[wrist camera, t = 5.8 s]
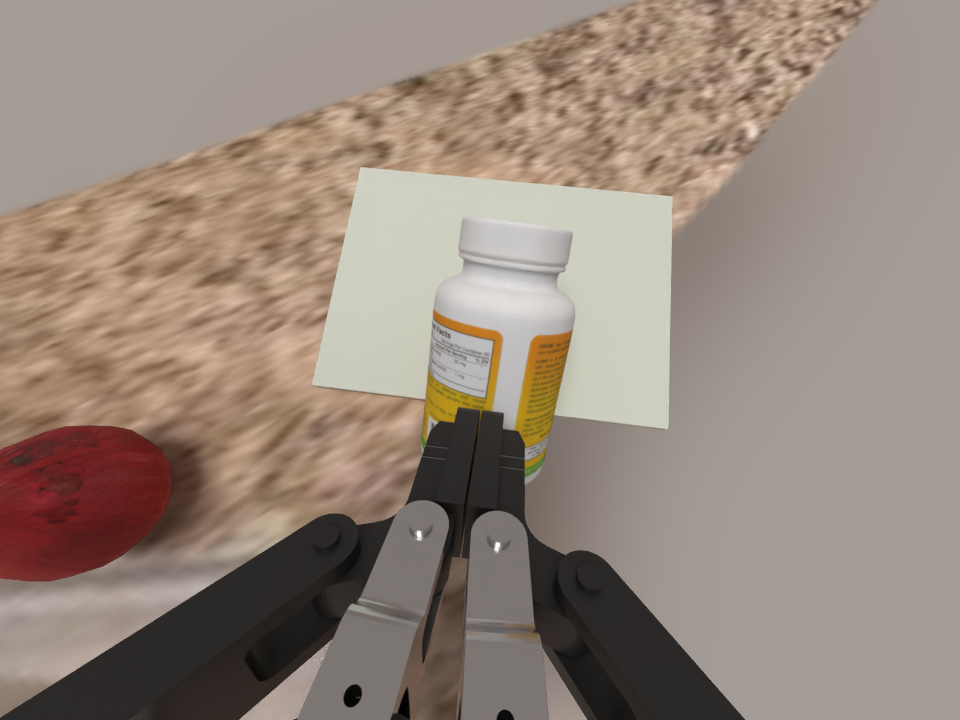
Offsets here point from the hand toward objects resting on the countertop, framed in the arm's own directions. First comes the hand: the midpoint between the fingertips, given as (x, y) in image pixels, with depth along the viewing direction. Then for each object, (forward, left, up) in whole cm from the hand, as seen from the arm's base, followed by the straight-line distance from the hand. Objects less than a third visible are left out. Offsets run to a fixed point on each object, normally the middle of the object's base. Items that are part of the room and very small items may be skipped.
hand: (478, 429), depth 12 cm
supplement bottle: (0, -1, -5) cm, 5 cm away
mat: (0, +8, -7) cm, 10 cm away
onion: (-16, -5, -7) cm, 18 cm away
